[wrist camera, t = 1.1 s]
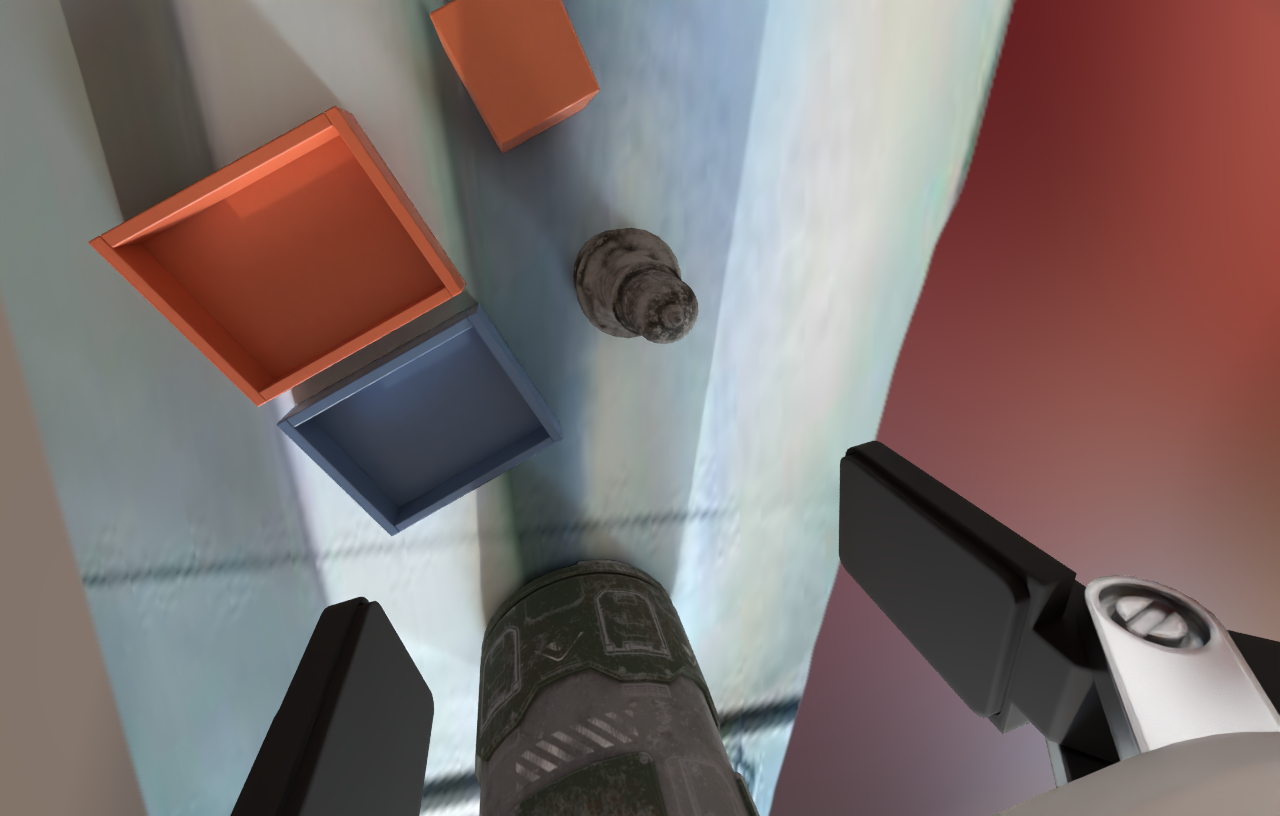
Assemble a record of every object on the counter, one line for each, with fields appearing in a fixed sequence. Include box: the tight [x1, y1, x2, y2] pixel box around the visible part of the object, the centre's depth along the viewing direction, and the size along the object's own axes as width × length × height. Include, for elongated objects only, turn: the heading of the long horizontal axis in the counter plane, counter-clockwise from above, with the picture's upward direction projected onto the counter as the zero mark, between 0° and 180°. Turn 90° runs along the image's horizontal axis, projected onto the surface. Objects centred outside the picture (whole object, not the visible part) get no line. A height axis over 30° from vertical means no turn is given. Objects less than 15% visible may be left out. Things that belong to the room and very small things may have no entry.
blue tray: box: [277, 303, 563, 536], centre depth 29 cm, size 12×9×2 cm
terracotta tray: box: [88, 106, 466, 406], centre depth 24 cm, size 12×9×2 cm
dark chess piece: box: [573, 228, 698, 344], centre depth 24 cm, size 6×6×12 cm
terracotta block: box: [430, 0, 600, 153], centre depth 22 cm, size 5×5×5 cm
